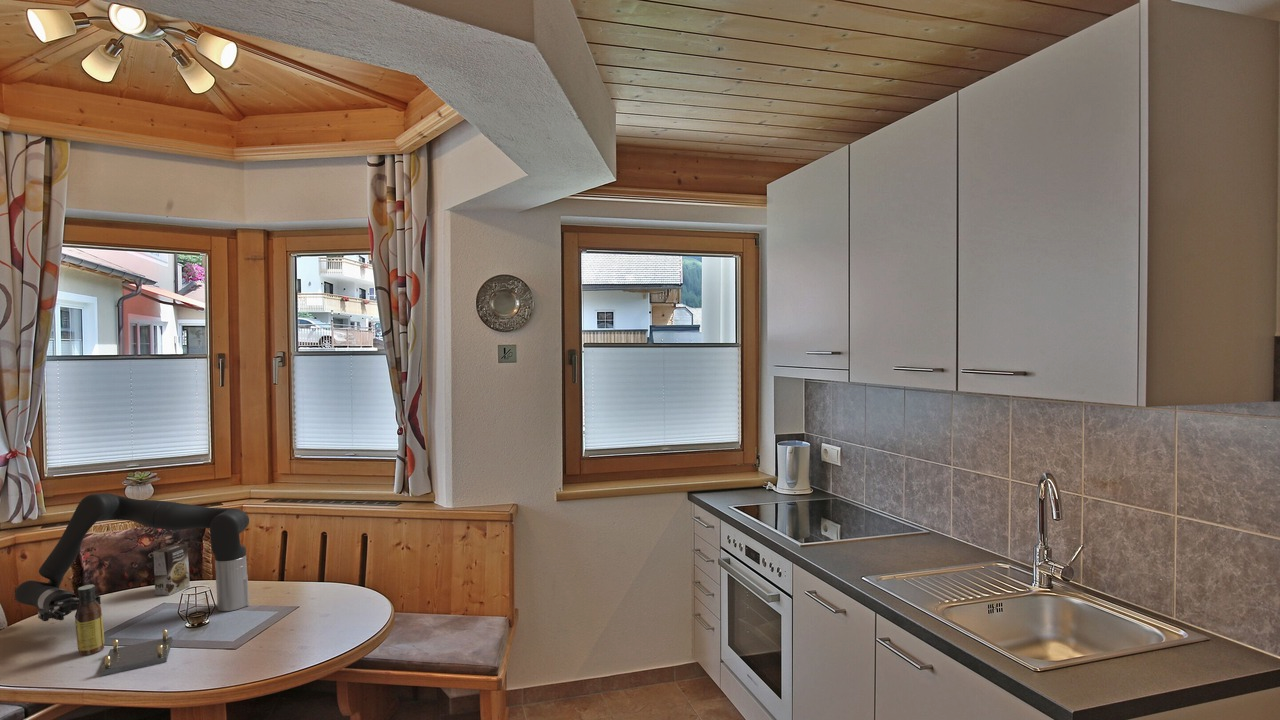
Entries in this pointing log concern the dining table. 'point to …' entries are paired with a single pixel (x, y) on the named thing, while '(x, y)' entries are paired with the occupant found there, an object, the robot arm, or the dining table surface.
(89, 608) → the sauce bottle
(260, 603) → the dining table surface
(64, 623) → the dining table surface
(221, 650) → the dining table surface
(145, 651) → the standoff plate
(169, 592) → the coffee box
